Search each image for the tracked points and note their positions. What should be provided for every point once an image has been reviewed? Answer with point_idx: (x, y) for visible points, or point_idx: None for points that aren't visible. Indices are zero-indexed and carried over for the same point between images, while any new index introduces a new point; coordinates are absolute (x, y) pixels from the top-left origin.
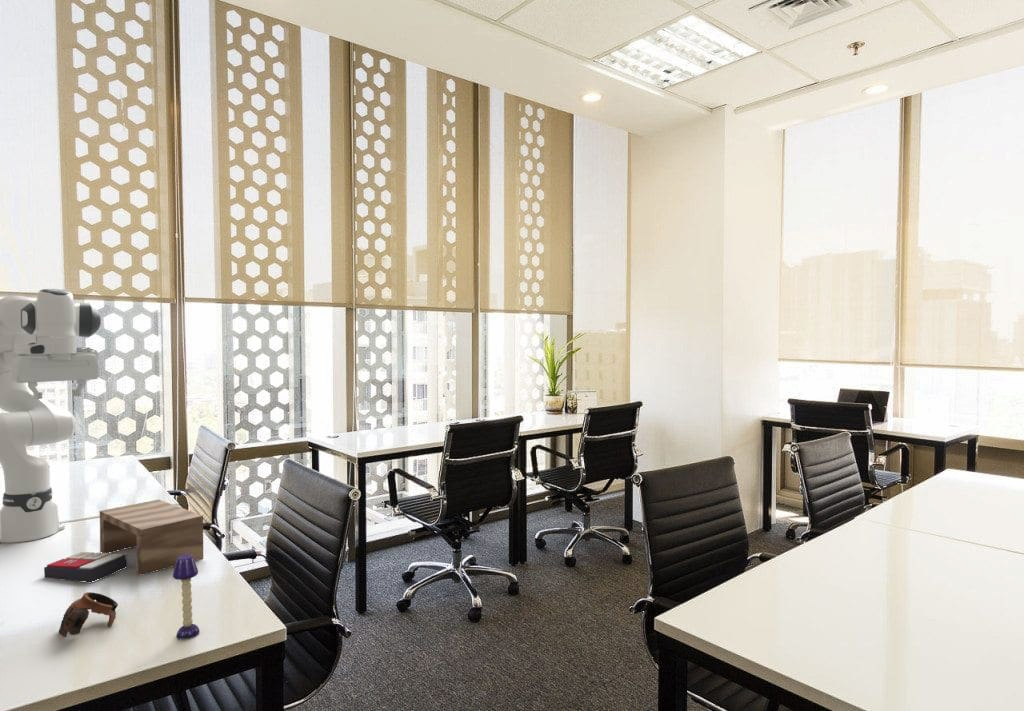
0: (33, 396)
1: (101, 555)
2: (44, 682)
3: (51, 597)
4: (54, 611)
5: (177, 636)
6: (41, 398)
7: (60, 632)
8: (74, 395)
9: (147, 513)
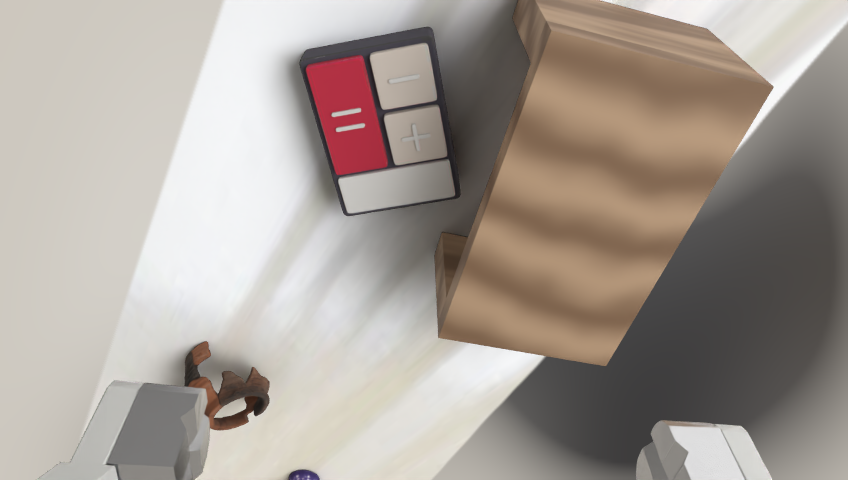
0: (101, 409)
1: (422, 151)
2: None
3: (250, 200)
4: (222, 270)
5: (289, 477)
6: (200, 440)
7: (185, 364)
8: (658, 450)
9: (578, 222)
